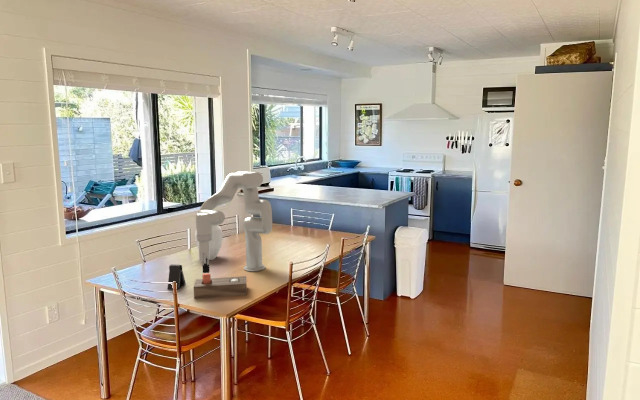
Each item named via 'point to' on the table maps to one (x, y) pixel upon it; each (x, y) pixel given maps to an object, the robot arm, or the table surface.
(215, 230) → the vase
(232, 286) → the plug block
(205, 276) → the red plug
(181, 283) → the phone stand
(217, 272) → the table surface
